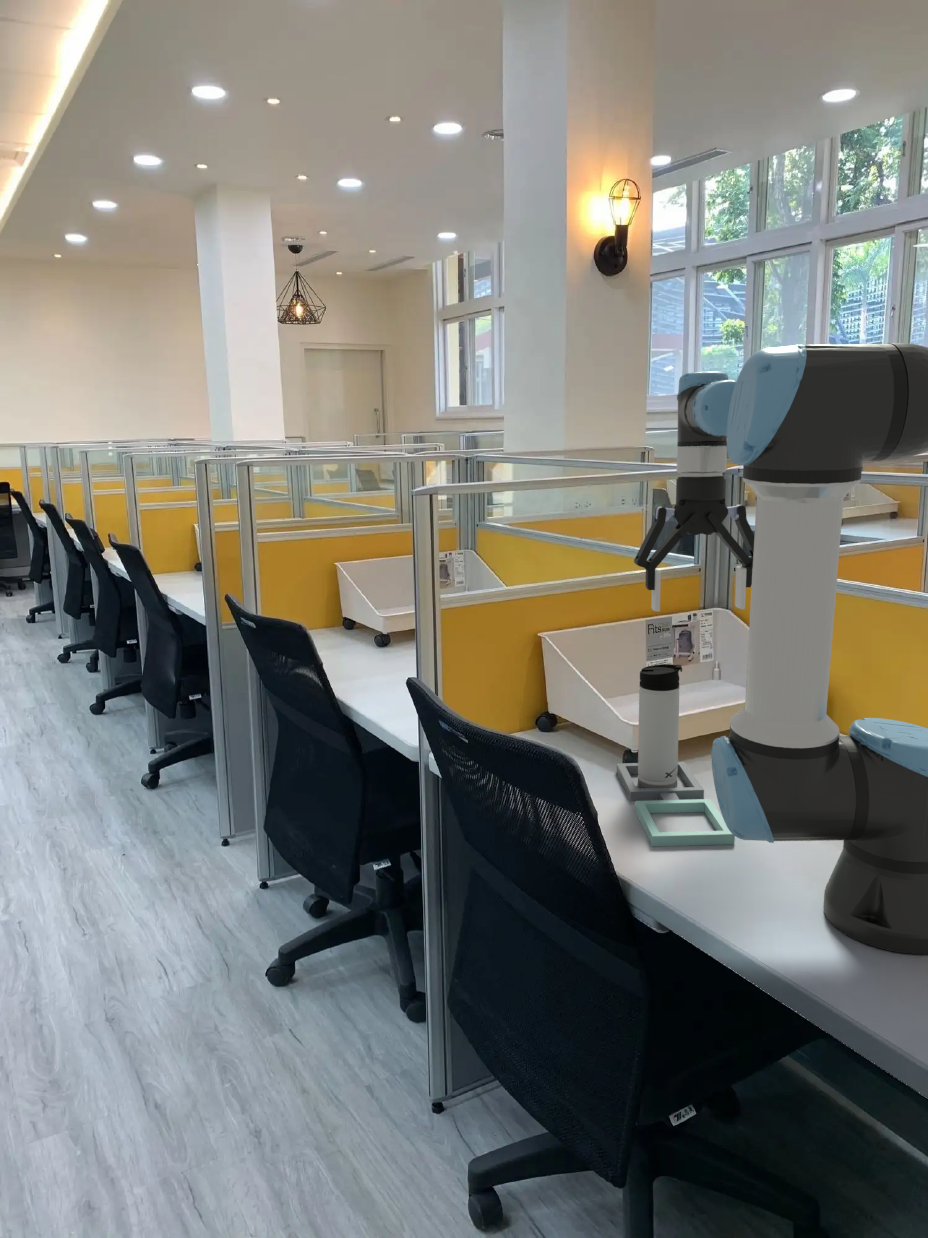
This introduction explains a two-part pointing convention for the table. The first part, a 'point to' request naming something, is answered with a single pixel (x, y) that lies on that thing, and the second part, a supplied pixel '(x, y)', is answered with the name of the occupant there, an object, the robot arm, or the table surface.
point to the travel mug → (658, 726)
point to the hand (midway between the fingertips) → (697, 609)
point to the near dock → (683, 838)
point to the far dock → (647, 794)
